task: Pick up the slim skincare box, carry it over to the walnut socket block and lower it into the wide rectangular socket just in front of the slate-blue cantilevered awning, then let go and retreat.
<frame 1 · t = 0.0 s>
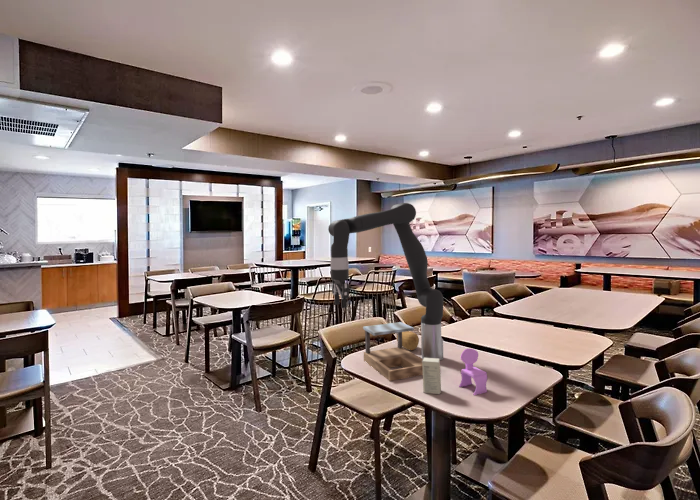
hand: (340, 306, 156), 29 cm above the table, fingers open, 8 cm apart
chair: (473, 390, 140), on the table
skincare box: (431, 391, 139), on the table
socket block: (396, 366, 165), on the table
potato: (408, 348, 190), on the table
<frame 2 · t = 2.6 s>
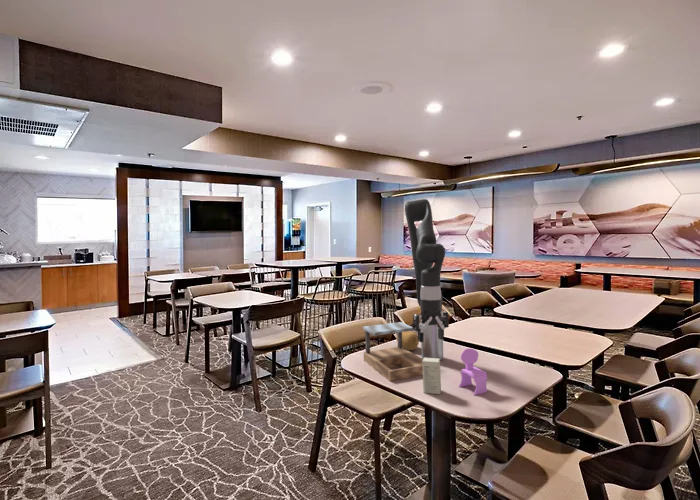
hand: (430, 340, 138), 19 cm above the table, fingers open, 8 cm apart
nothing on the table moved.
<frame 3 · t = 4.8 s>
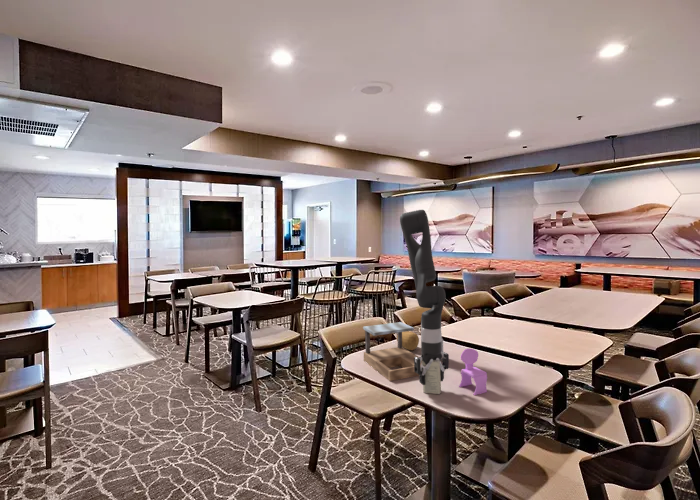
hand: (431, 382, 139), 3 cm above the table, fingers closed on skincare box, 7 cm apart
skincare box: (431, 391, 139), on the table, touching gripper
everything else where it was.
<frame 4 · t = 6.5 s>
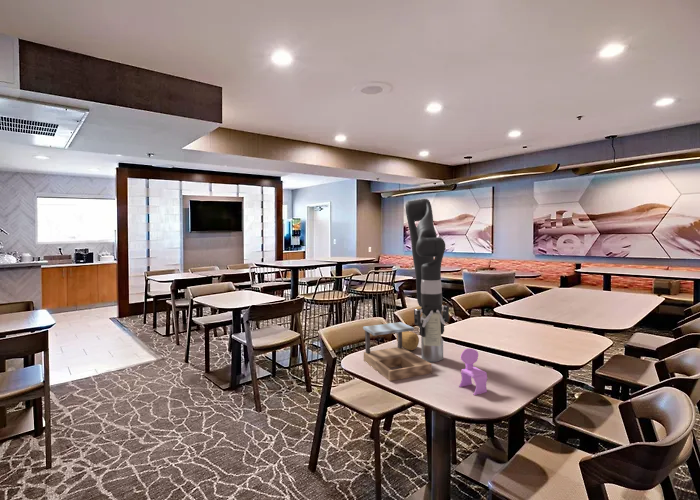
hand: (431, 335, 138), 21 cm above the table, fingers closed on skincare box, 7 cm apart
skincare box: (432, 344, 138), point 18 cm above the table, touching gripper
everything else where it was.
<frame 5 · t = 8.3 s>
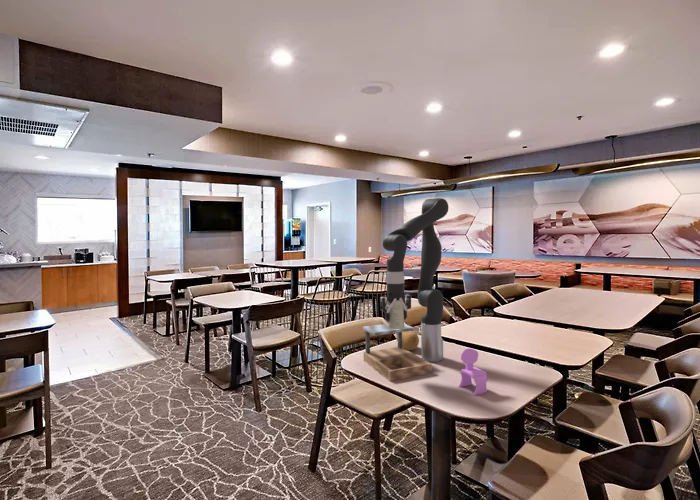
hand: (396, 320, 158), 23 cm above the table, fingers closed on skincare box, 7 cm apart
skincare box: (396, 328, 158), point 19 cm above the table, touching gripper
everything else where it was.
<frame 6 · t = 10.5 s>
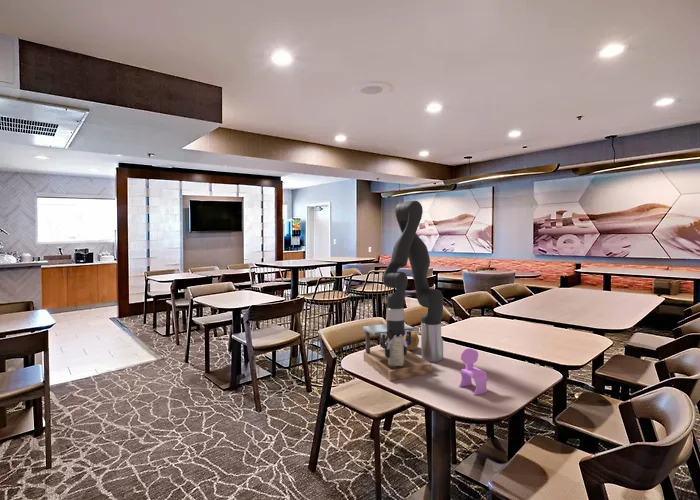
hand: (395, 356, 158), 7 cm above the table, fingers closed on skincare box, 7 cm apart
skincare box: (395, 364, 158), point 3 cm above the table, touching gripper
everything else where it was.
when the fingers open (6 cm above the table, at t = 11.8 s): skincare box drops 2 cm, resting in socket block.
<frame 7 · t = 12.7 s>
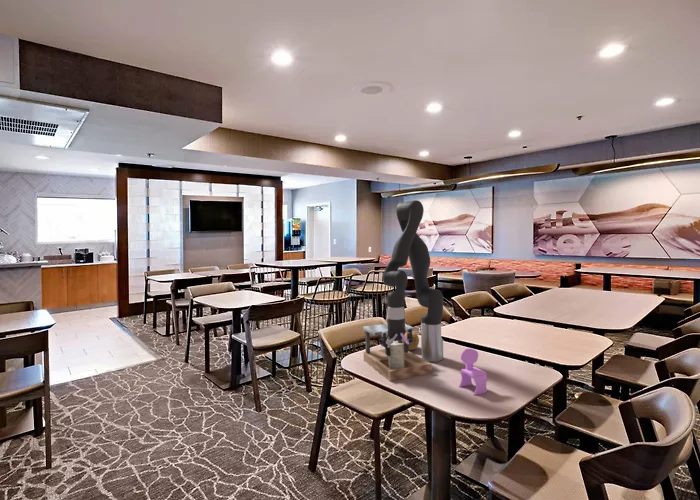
hand: (397, 354, 158), 8 cm above the table, fingers open, 8 cm apart
skincare box: (396, 372, 159), resting in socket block, touching gripper
everything else where it was.
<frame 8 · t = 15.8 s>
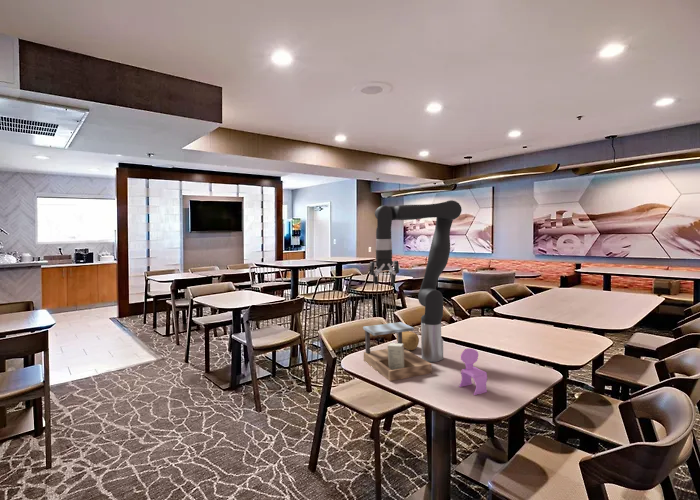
hand: (384, 283, 173), 36 cm above the table, fingers open, 8 cm apart
skincare box: (396, 372, 159), resting in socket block
everything else where it was.
at the end: skincare box 0.1 cm from the target spot on the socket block, point 0.0 cm above the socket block's base; skincare box touching table; skincare box tilted 0° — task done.
